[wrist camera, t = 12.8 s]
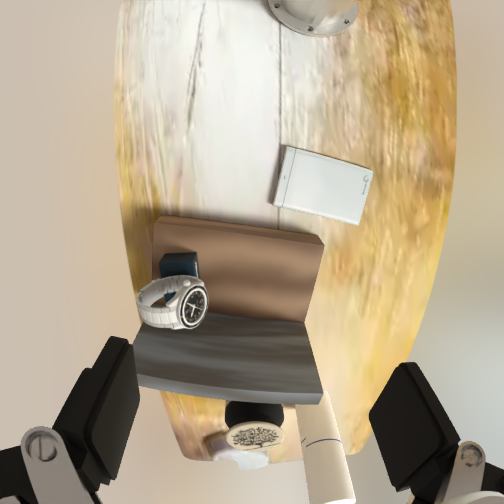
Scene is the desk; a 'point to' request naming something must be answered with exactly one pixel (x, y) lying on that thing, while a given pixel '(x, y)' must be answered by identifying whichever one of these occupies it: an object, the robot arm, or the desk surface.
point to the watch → (175, 294)
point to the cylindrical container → (323, 454)
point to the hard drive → (322, 186)
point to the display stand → (237, 315)
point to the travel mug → (254, 425)
